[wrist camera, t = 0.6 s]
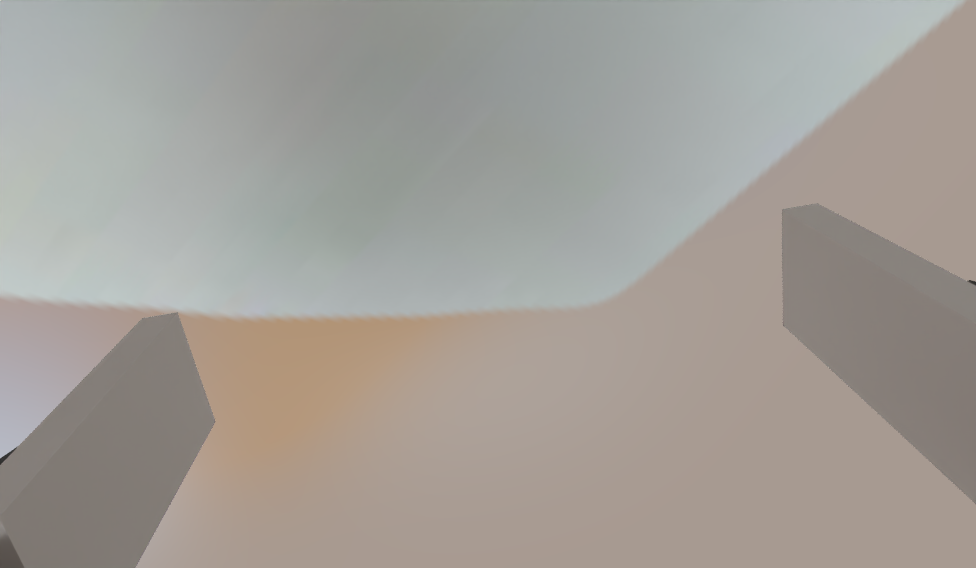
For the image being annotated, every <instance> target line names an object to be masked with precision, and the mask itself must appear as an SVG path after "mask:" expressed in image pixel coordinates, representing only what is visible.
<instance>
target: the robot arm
mask: <svg viewBox="0 0 976 568" xmlns="http://www.w3.org/2000/svg"><path fill="white" fill-rule="evenodd" d="M782 269H783V270H782V271H783V326H784V327H786V328H787V329H788V330H789V331H790V332H791V333H792V334H793V335H794V336H795V337H796V338H797V339H798V340H800V341H801V342H802V343H803V344H804V345H805V346H806V347H807V348H808V349H809V350H810V351H811V352H812V353H814V354H815V355H816V356H817V357H818V358H819V359H820V360H821V361H822V362H823V363H824V364H825V365H826V366H828V367H829V368H830V369H831V370H832V371H833V372H834V373H835V374H836V375H837V376H838V377H839V378H840V379H842V380H843V381H844V382H845V383H846V384H847V385H848V386H849V387H850V388H851V389H852V390H853V391H855V392H856V393H857V394H858V395H859V396H860V397H861V398H862V399H863V400H864V401H865V402H866V403H867V404H868V405H870V406H871V407H872V408H873V409H874V410H875V411H876V412H877V413H878V414H879V415H881V417H882V418H884V419H885V420H886V421H887V422H888V423H889V424H890V425H891V426H892V427H893V428H894V429H895V430H896V431H898V432H899V433H900V434H901V435H902V436H903V437H904V438H905V439H906V440H907V441H908V442H909V443H911V444H912V445H913V446H914V447H915V448H916V449H917V450H918V451H919V452H920V453H921V454H922V455H923V456H925V457H926V458H927V459H928V460H929V461H930V462H931V463H932V464H933V465H934V466H935V467H936V468H937V469H939V470H940V471H941V472H942V473H943V474H944V475H945V476H946V477H947V478H948V479H949V480H950V481H951V482H953V483H954V484H955V485H956V486H957V487H958V488H959V489H960V490H961V491H962V492H963V493H964V494H966V495H967V496H968V497H969V498H970V499H971V500H972V501H973V502H974V503H975V504H976V282H975V281H971V280H969V281H966V280H964V279H962V278H960V277H958V276H956V275H954V274H952V273H950V272H948V271H947V270H944V269H943V268H941V267H939V266H937V265H935V264H933V263H931V262H929V261H927V260H925V259H923V258H921V257H919V256H918V255H916V254H914V253H912V252H910V251H908V250H906V249H904V248H902V247H900V246H898V245H896V244H895V243H893V242H891V241H889V240H887V239H885V238H883V237H881V236H879V235H877V234H875V233H873V232H871V231H869V230H867V229H866V228H864V227H862V226H860V225H858V224H856V223H854V222H852V221H850V220H848V219H846V218H844V217H842V216H841V215H839V214H836V213H834V212H833V211H831V210H829V209H827V208H825V207H823V206H821V205H819V204H811V205H806V206H799V207H794V208H788V209H783V210H782ZM214 423H215V419H214V416H213V413H212V411H211V408H210V405H209V402H208V399H207V396H206V393H205V390H204V387H203V384H202V382H201V379H200V376H199V373H198V370H197V367H196V364H195V362H194V359H193V356H192V353H191V350H190V347H189V344H188V341H187V338H186V336H185V333H184V330H183V327H182V324H181V321H180V318H179V315H178V312H177V313H171V314H165V315H160V316H154V317H148V318H142V320H140V321H139V322H138V323H137V325H135V326H134V328H133V329H132V330H131V331H130V332H129V333H128V334H127V335H126V336H125V337H124V338H123V339H122V340H121V341H120V342H119V343H118V344H117V345H116V346H115V347H114V348H113V349H112V350H111V351H110V352H109V353H108V354H107V355H106V356H105V357H104V359H103V360H102V361H101V362H100V363H99V364H98V365H97V366H96V367H95V368H94V369H93V370H92V371H91V372H90V373H89V374H88V375H87V376H86V377H85V378H84V379H83V380H82V381H81V382H80V383H79V384H78V385H77V386H76V387H75V388H74V389H73V391H72V392H71V393H70V394H69V395H68V396H67V397H66V398H65V399H64V400H63V401H62V402H61V403H60V404H59V405H58V406H57V407H56V408H55V409H54V410H53V411H52V412H51V413H50V414H49V415H48V416H47V417H46V418H45V420H43V422H42V423H41V424H40V425H39V426H38V427H37V428H36V429H35V430H34V431H33V432H32V433H31V434H30V435H29V436H28V437H27V438H26V439H25V441H23V442H22V443H21V444H20V445H19V446H18V447H17V448H15V449H14V450H12V451H11V452H9V453H8V454H6V455H5V456H3V457H2V458H0V568H135V567H136V566H137V564H138V562H139V560H140V558H141V556H142V555H143V553H144V551H145V549H146V547H147V546H148V544H149V542H150V540H151V538H152V536H153V535H154V533H155V531H156V529H157V527H158V526H159V524H160V522H161V520H162V518H163V516H164V515H165V513H166V511H167V509H168V507H169V505H170V504H171V502H172V500H173V498H174V496H175V495H176V493H177V491H178V489H179V487H180V485H181V484H182V482H183V479H184V478H185V476H186V474H187V472H188V471H189V469H190V467H191V465H192V463H193V462H194V460H195V458H196V456H197V454H198V452H199V451H200V449H201V447H202V445H203V443H204V442H205V440H206V438H207V436H208V434H209V433H210V431H211V429H212V427H213V425H214Z"/></svg>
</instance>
